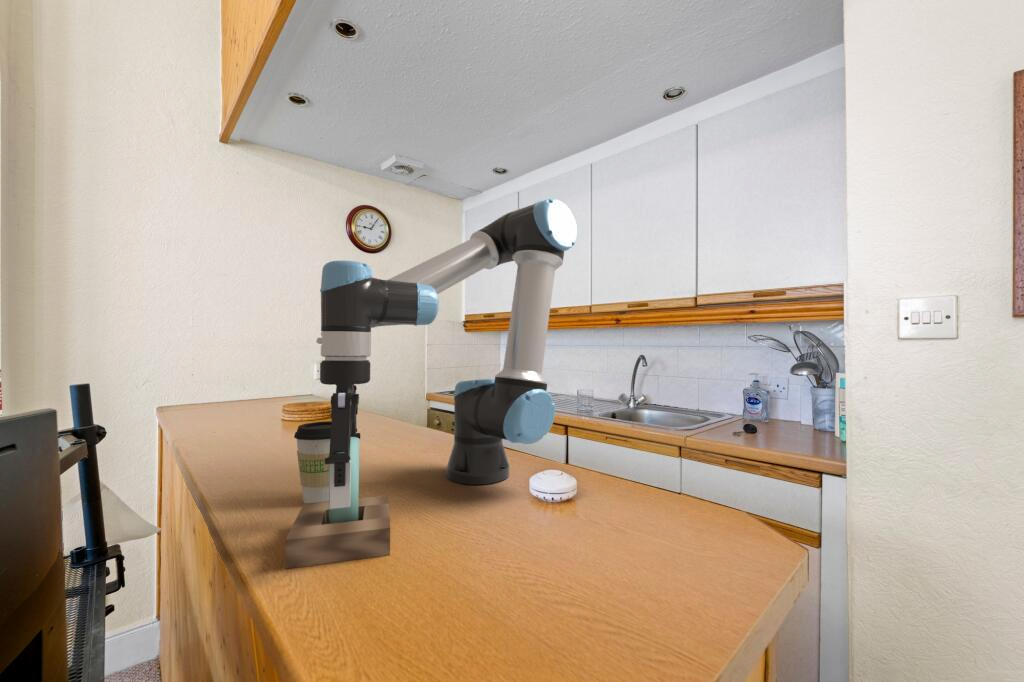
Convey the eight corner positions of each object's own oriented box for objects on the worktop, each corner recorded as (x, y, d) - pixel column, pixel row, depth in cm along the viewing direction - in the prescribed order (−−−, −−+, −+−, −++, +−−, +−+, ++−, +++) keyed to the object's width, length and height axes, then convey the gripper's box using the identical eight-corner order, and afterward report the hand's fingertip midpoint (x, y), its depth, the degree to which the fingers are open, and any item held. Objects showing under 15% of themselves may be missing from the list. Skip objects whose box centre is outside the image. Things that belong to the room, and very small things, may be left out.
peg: (358, 532, 69) (359, 436, 70) (357, 544, 65) (358, 442, 65) (330, 535, 68) (331, 437, 68) (326, 548, 64) (327, 443, 64)
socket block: (388, 517, 75) (389, 495, 76) (389, 554, 62) (390, 527, 62) (303, 527, 71) (303, 503, 71) (285, 569, 58) (285, 540, 58)
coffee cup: (308, 513, 77) (309, 432, 77) (283, 501, 83) (285, 425, 83) (356, 498, 85) (357, 424, 85) (330, 488, 91) (331, 419, 91)
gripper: (329, 356, 78) (328, 470, 78) (306, 361, 54) (304, 526, 54) (372, 356, 80) (371, 467, 80) (367, 361, 56) (366, 519, 56)
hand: (344, 491), depth 67 cm, fingers open, 13 cm apart
